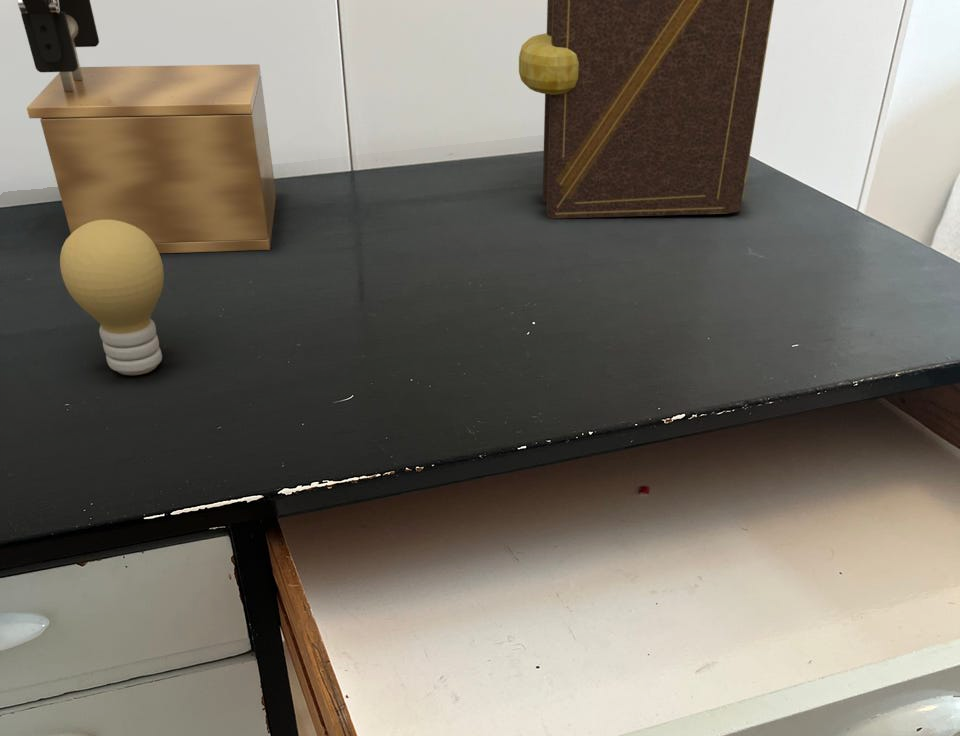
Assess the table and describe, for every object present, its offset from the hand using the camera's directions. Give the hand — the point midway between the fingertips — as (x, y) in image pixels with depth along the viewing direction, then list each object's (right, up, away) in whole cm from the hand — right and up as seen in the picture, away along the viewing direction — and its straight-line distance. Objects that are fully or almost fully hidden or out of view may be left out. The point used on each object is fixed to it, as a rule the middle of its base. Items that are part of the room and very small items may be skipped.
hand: (70, 58), depth 81 cm
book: (+49, -6, +15) cm, 52 cm away
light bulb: (+10, -30, -12) cm, 34 cm away
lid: (+6, -2, +2) cm, 7 cm away
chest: (+7, -10, +10) cm, 15 cm away
